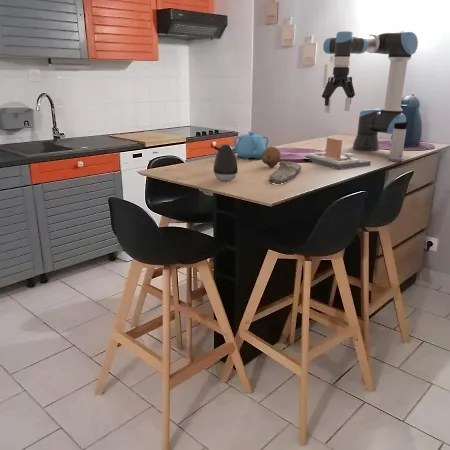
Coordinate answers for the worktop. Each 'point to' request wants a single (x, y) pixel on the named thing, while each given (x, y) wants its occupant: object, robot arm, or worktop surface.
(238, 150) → the decorative pot
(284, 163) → the long grey stone
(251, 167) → the worktop surface
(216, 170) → the pump dispenser
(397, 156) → the travel mug
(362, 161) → the boss board
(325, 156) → the keyhole plate
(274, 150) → the brown round lump
